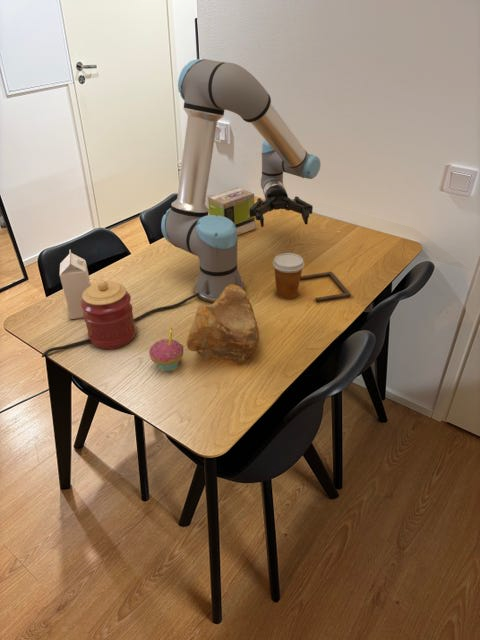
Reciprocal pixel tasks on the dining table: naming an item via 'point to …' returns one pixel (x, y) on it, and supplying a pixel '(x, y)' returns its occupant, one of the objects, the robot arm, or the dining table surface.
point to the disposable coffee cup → (288, 274)
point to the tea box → (234, 208)
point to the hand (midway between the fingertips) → (284, 221)
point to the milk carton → (74, 283)
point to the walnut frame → (336, 281)
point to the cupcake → (166, 353)
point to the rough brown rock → (225, 327)
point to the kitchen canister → (108, 314)
